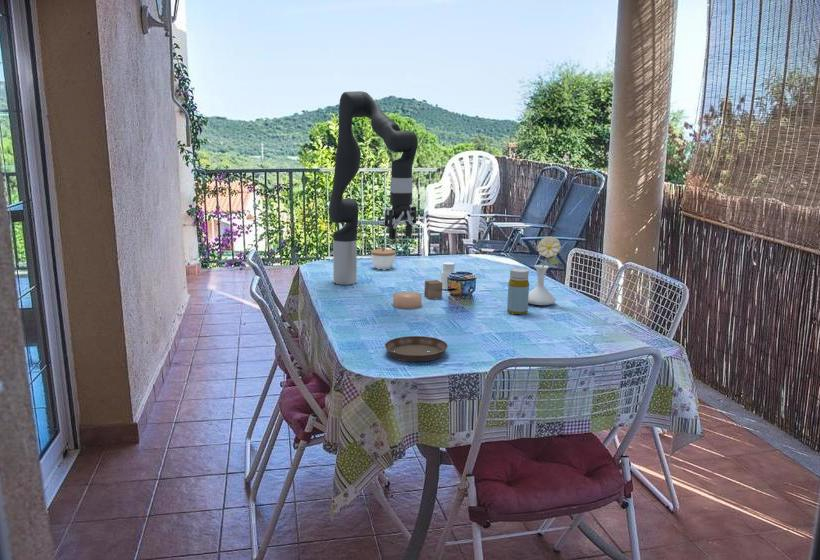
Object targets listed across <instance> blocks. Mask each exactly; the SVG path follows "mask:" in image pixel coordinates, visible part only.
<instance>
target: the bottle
mask: <svg viewBox="0 0 820 560" xmlns="http://www.w3.org/2000/svg"><path fill="white" fill-rule="evenodd" d="M509 271H510V272H509V276H510V277H509V280H508V283H507V287H508V289H507V305H506V306H507V307H506V311H507V312H508V314H510V313H513V314H512V315H514V314H524V315H526V314H527V313H528V312H529V311H528V309H529V303H528V296H529V292H530V282H529V272H530V271H529V269H527V268H523V267H521V268H519V267H514V268H511V269H510V270H509ZM525 313H526V314H525Z"/></svg>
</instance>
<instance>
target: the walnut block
mask: <svg viewBox="0 0 820 560" xmlns="http://www.w3.org/2000/svg"><path fill="white" fill-rule="evenodd" d="M423 295H424V297H425V298H426V299H428V300H436V299H435V298H442V299H443V289H442V282H441V280H439V279H429V280H424V294H423Z"/></svg>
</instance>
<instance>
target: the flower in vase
mask: <svg viewBox="0 0 820 560" xmlns="http://www.w3.org/2000/svg"><path fill="white" fill-rule="evenodd" d="M560 242H561V241H560V240H559V239H558V238H555V236H553V237H552V236H551V235H550V236H546V237H544V238H541V240H540V241H539V242H538V244H537V247H536V248H537V251H538V254H539V255H540V256H542V257H545V258H547V260H546V261H545V262H544V261H543V260H542V259H540V258H538V257H537V256H535V258H536V259H537V260H539V261H541V262H542V263H543V264H536V265H534V268H535V270H536V272H537V274H536V275H537V284H536V286H535V287H534V288H533V289H531V290H529V296H528V304H529V305H530V304H531V305H535V306H548V305H549V306H550V305H553V304H554V303H555V302H556V301H557V299H556V297H555V296H554V295H553V294H552V293H551V292H550V291H549V290H548V289H547V288H546V287H545V276H546V272H547V270H548V269H549V268H550V266H549V265H546V264H547V262H549V264H550V265H553V266H554V265H559V264H560V262H559V261H558V259H557V258H555V256H557V255H558V253H559V252H560V250H561V248H562V246H561V243H560Z"/></svg>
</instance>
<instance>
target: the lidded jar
mask: <svg viewBox="0 0 820 560" xmlns="http://www.w3.org/2000/svg"><path fill="white" fill-rule="evenodd" d="M396 252H397V251H396V250H394V249H390V248H389V249H388V248H385V247H384V246H382V248H375V249H372V250H370V257H371V263H372V265H373V266H374V268H375V269H376V268H377V269H376V270H378V269H389V270H390V269H391V268H392V267H393V265H394V264H395V261H396V254H397V253H396Z"/></svg>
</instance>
